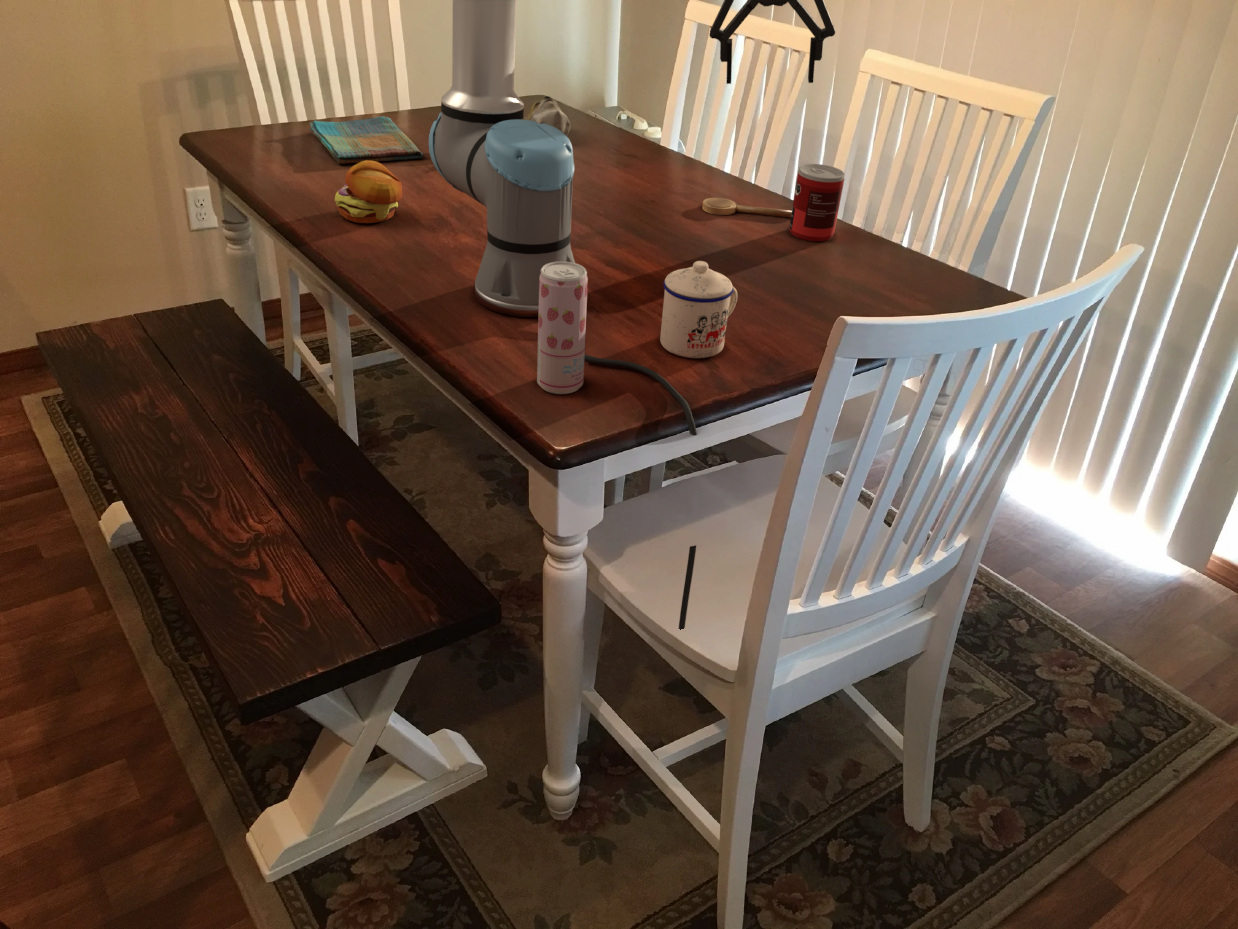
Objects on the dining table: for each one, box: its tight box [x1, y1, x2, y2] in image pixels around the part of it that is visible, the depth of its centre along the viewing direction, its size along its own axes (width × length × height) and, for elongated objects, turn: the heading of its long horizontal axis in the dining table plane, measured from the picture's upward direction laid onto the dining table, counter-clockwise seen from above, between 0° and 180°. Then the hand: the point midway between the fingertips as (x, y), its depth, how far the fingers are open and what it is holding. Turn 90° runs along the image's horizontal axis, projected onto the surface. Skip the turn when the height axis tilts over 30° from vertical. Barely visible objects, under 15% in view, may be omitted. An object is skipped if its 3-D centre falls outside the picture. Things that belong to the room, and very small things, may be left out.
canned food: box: [789, 163, 846, 242], centre depth 169 cm, size 8×8×11 cm
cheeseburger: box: [334, 160, 403, 224], centre depth 164 cm, size 10×11×10 cm
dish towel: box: [309, 115, 424, 165], centre depth 198 cm, size 17×23×2 cm
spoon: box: [701, 197, 792, 219], centre depth 179 cm, size 17×6×1 cm, turn 82°
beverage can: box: [536, 261, 589, 395], centre depth 118 cm, size 6×6×15 cm
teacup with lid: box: [659, 260, 739, 359], centre depth 131 cm, size 12×9×12 cm
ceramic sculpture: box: [523, 95, 572, 137], centre depth 210 cm, size 11×9×15 cm
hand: (769, 80), depth 167 cm, fingers open, 13 cm apart
